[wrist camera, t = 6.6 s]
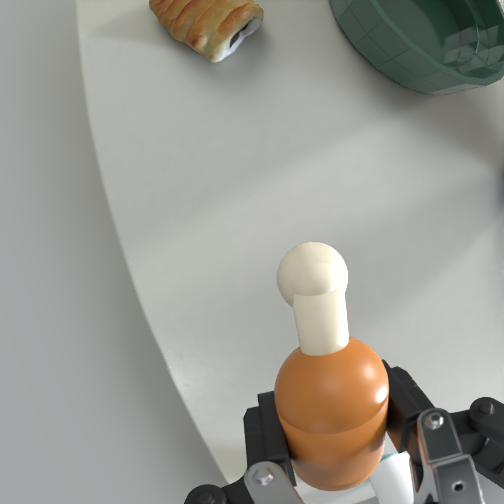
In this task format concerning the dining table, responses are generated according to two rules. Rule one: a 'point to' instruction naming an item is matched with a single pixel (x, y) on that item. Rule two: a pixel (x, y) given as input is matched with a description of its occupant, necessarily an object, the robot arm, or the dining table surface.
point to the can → (393, 480)
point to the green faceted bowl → (428, 41)
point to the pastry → (209, 23)
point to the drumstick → (328, 377)
